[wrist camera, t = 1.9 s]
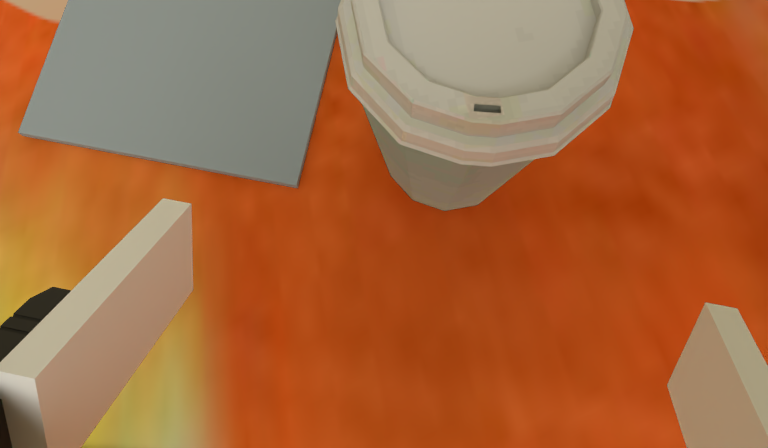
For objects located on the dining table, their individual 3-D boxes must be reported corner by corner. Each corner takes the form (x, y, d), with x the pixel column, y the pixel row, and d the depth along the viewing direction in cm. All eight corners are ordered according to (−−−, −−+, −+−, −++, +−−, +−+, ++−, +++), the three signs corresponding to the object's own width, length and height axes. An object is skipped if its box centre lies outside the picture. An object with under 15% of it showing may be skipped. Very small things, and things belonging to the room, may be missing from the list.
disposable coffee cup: (364, 64, 38) (343, -146, 24) (551, 75, 38) (648, -132, 23) (347, 242, 35) (313, 128, 21) (550, 256, 35) (659, 150, 20)
